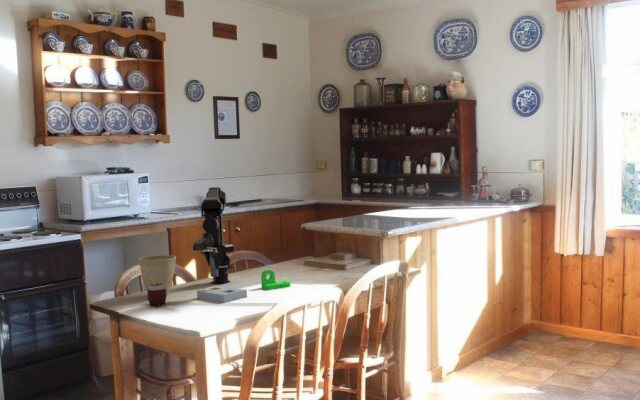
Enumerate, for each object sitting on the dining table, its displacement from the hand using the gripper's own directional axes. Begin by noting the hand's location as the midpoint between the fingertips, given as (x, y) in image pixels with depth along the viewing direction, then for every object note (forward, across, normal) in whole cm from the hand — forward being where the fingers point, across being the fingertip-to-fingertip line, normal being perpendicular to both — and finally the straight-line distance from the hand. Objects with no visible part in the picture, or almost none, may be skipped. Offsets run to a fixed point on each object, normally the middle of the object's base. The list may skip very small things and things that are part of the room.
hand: (214, 268), depth 265 cm
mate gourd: (+12, -8, -23) cm, 27 cm away
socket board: (+11, +4, 0) cm, 12 cm away
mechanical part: (+12, +9, +27) cm, 31 cm away
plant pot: (+11, -22, -11) cm, 27 cm away
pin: (+3, 0, 0) cm, 3 cm away
